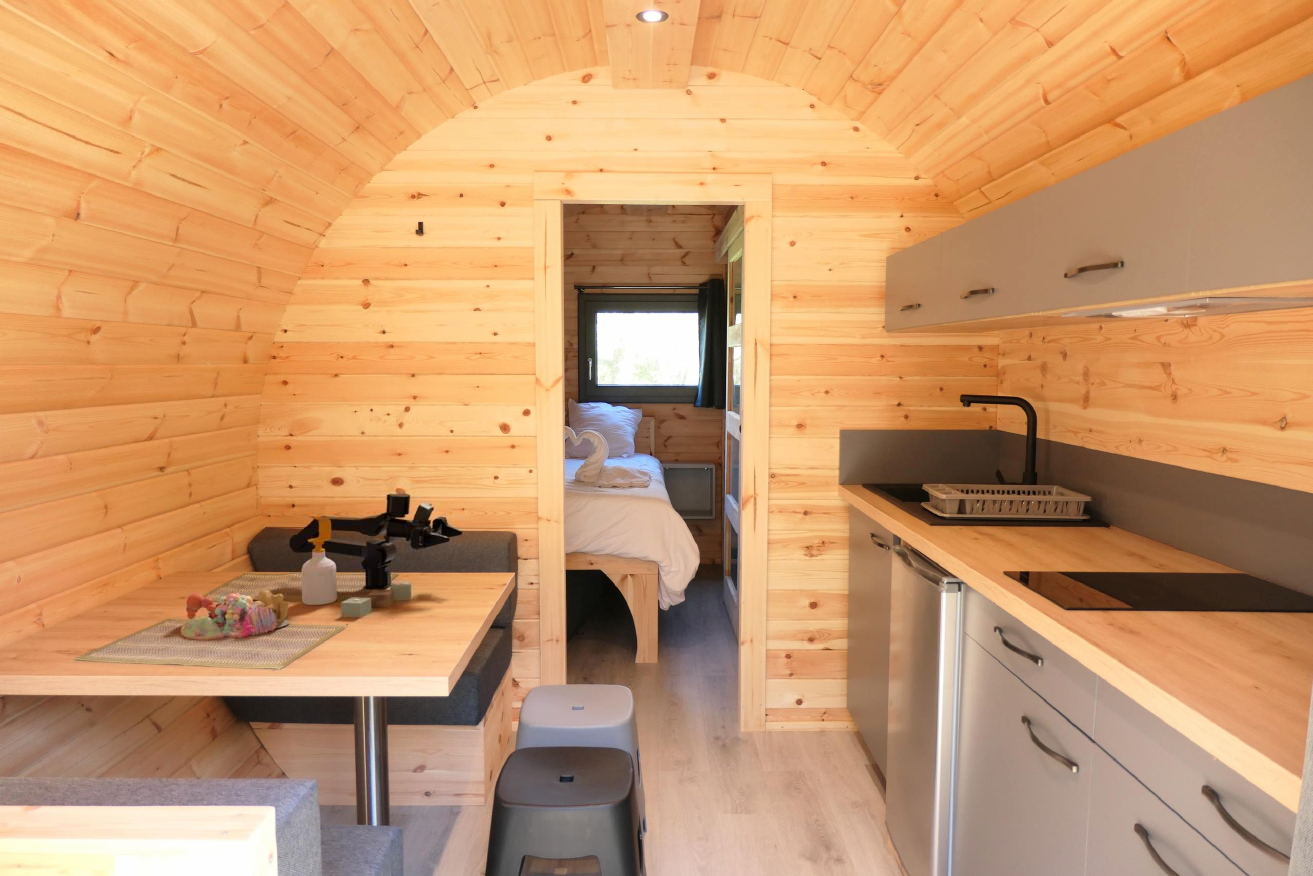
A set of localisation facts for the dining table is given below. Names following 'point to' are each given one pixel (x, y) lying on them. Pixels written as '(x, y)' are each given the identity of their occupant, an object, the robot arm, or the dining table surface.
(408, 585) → the dotted block two
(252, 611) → the colorful coral reef ornament
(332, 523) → the robot arm
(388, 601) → the walnut block
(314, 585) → the soap bottle
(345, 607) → the grey-green block
